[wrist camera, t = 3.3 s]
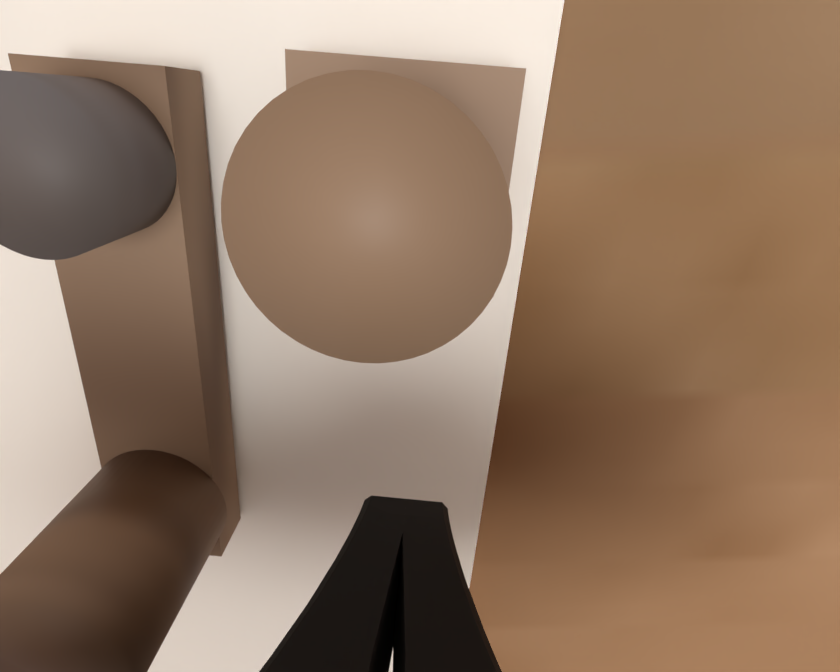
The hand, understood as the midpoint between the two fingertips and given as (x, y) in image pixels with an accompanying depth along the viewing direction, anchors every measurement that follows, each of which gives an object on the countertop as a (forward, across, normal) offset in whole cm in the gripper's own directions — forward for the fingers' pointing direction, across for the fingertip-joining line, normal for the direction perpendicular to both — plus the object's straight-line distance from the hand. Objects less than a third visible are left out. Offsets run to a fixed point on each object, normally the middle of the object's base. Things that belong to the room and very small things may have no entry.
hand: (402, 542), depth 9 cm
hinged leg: (+1, +4, -3) cm, 6 cm away
